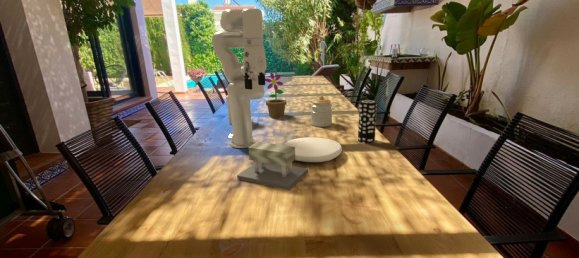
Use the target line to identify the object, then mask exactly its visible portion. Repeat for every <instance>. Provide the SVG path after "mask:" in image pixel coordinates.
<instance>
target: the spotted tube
mask: <svg viewBox="0 0 579 258" xmlns="http://www.w3.org/2000/svg"><path fill="white" fill-rule="evenodd" d="M377 108H378V100H377V101H376V100H373V99H363V100H359V102H358V127H357V142H359V143H361V144H374V143H375V142H376V127H377V125H376V124H377V110H378V109H377Z"/></svg>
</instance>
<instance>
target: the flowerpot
mask: <svg viewBox="0 0 579 258" xmlns="http://www.w3.org/2000/svg"><path fill="white" fill-rule="evenodd" d="M269 76H270V78H269V77H267V78H266V77H265V83H269V84H268V85H267V90H269V89H271V88H272V87H273V88H274V93H272V94H270V95H269V96H268V97H270V98H274V99H268V100H266V101H265V106H267V110H268V115H269V118H272V119H273V118H274V119H278V118H283V117H285V111H286V106H287V105H288V104H287V102H288V101H287V100H286V99H281V98H279V99H278V98H277V95H282V94H284V93H285V91H283V90H282V89H280V88H278V86H284V82H282V81H280V79H281V78H282V75H281V74H278V75H277V76H275V73H273V72H270V75H269ZM278 80H279V81H278Z"/></svg>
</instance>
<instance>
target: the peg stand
mask: <svg viewBox="0 0 579 258" xmlns="http://www.w3.org/2000/svg"><path fill="white" fill-rule="evenodd" d="M308 173H309V169H308V168H307V167H301V166H295V165H293V162H292V163H290V164H289V165H288V166H282V165H277V164H271V163H265V162H259V161H254V160H253V164H252V165H250V166H249V167H247V168H246V169H245V170H243V171H241V172H240V173H237V175H236V177H237V180H241V181H245V182H250V183H255V184H261V185H264V186H269V187H272V188H273V187H274V188H279V189H283V190H288V191H290V190H291V189H293V187H294V186H296V185H297V184H298V183H299V182H300V181H301V180H302V179H303V178H304V177H305V176H306V175H307V174H308Z"/></svg>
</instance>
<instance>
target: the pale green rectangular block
mask: <svg viewBox="0 0 579 258" xmlns="http://www.w3.org/2000/svg"><path fill="white" fill-rule="evenodd" d="M248 160H250V161H253V162H254V161H259V162H265V163H271V164H277V165H282V166H288V165H289V164H290V163H292V164H293V162H294V161H296V160H295V147H292V146H285V145H283V144H278V143H277V144H276V143H272V142H271V143H270V142H264V141H256V143H255V144H253V145H252V146H250V147H248Z"/></svg>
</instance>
